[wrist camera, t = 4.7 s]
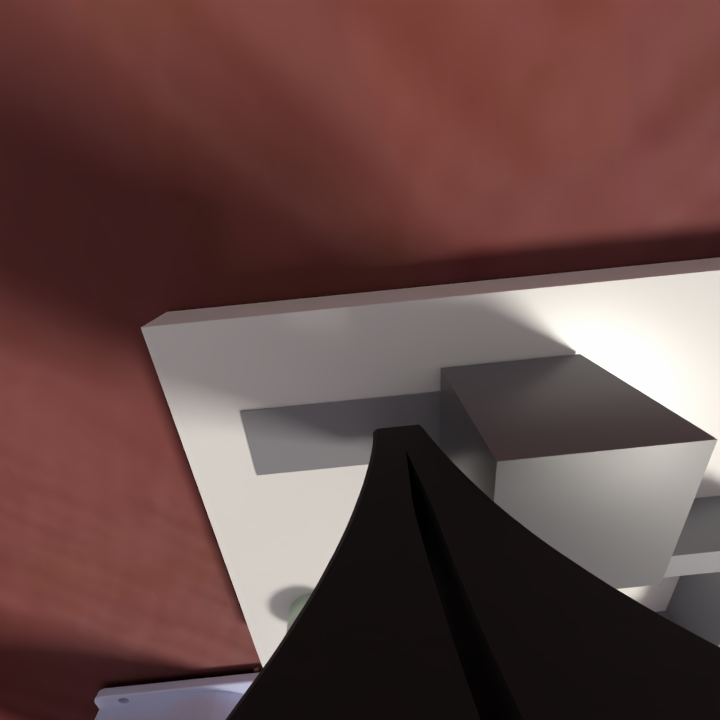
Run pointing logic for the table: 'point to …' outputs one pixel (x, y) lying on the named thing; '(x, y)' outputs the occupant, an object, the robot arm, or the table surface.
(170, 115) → the table surface
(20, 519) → the table surface
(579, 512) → the block
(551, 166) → the table surface
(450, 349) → the panel
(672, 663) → the robot arm
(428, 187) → the table surface
